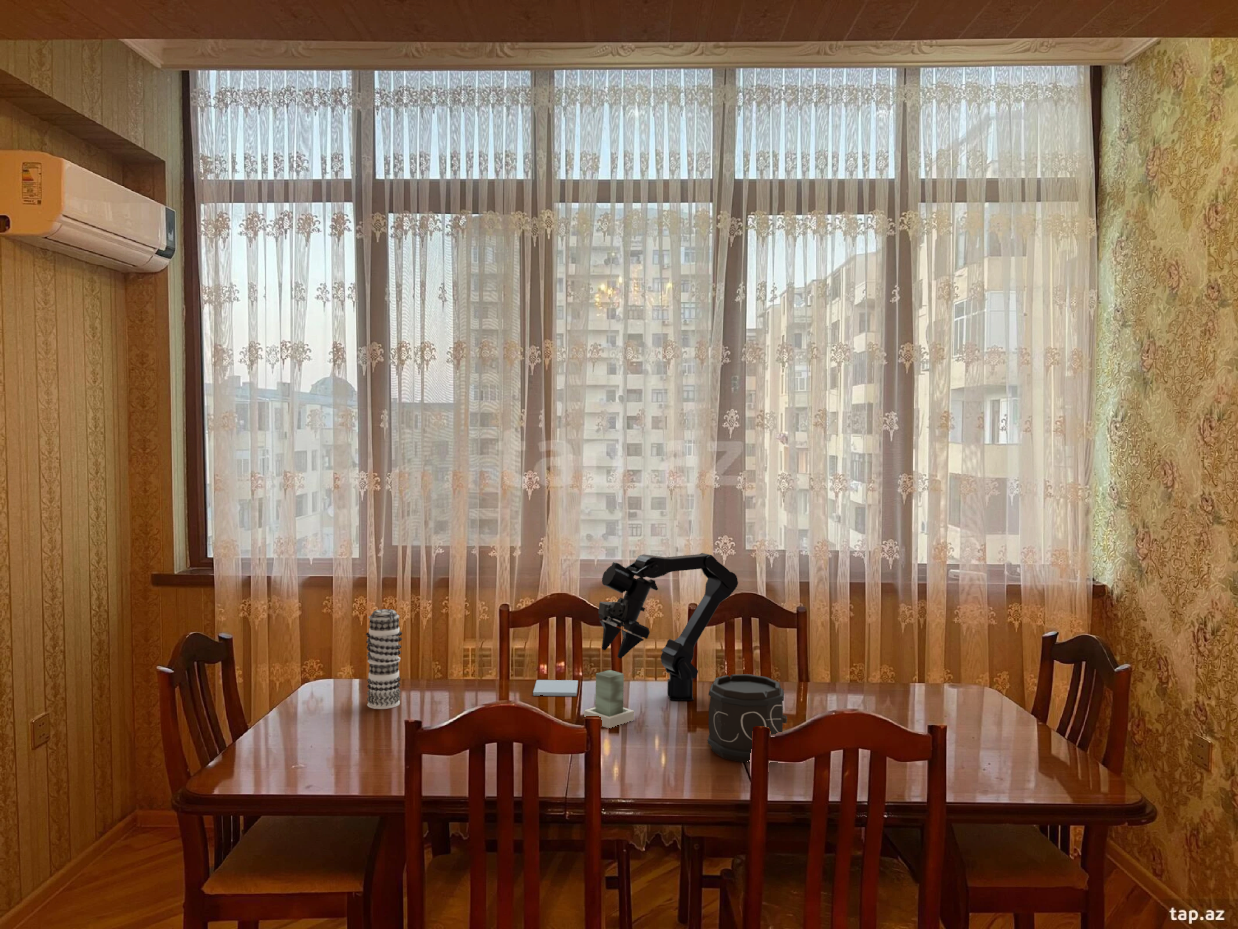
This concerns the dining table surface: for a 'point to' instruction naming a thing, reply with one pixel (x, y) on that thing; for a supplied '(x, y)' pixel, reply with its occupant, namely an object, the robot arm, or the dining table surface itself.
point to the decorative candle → (383, 659)
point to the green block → (609, 693)
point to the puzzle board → (612, 717)
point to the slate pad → (556, 688)
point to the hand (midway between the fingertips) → (611, 653)
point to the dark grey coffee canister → (742, 713)
